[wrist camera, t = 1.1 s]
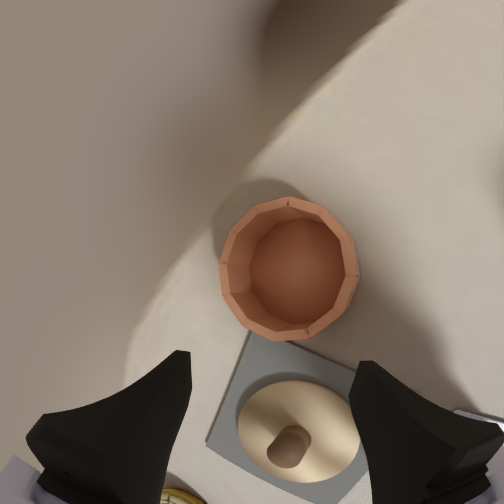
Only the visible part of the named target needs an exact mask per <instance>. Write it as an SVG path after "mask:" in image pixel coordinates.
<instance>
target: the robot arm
mask: <svg viewBox="0 0 504 504" xmlns="http://www.w3.org/2000/svg"><path fill="white" fill-rule="evenodd" d="M191 391H192V376H191V355H190V352H187V351H180V350H176V351H174V352H173V353H172V354H171V355H169V356H168V357H167V358H166V359H165V360H164V361H162V362H161V363H160V364H159V365H158V366H156V367H155V368H154V369H153V370H151V371H150V372H149V373H147V374H146V375H145V376H143V377H142V378H141V379H139V380H138V381H136V382H135V383H133V384H132V385H130V386H129V387H127V388H125V389H123V390H122V391H120V392H118V393H116V394H114V395H112V396H110V397H107V398H105V399H103V400H100V401H98V402H95V403H92V404H90V405H86V406H83V407H80V408H76V409H72V410H67V411H62V412H56V413H49V414H43V415H42V416H41V418H40V419H39V420H38V421H37V423H36V424H35V425H34V426H33V428H32V429H31V430H30V431H29V433H28V434H27V436H26V441H27V444H28V446H29V448H30V449H31V451H32V452H33V454H34V455H35V456H36V458H37V459H38V460H39V462H40V463H41V464H42V466H43V467H44V468H45V469H44V471H43V473H42V474H41V473H40V472H39V471H38V470H36V469H35V468H34V467H32V466H31V465H29V464H28V463H26V462H24V461H23V460H21V459H20V458H18V457H17V456H16V455H13V456H12V458H11V459H10V460H9V462H8V463H7V464H6V466H5V467H4V469H3V470H2V471H1V473H0V504H160V501H161V495H162V490H163V485H164V480H165V475H166V470H167V466H168V462H169V458H170V454H171V451H172V447H173V444H174V442H175V439H176V437H177V434H178V431H179V429H180V426H181V424H182V421H183V418H184V416H185V413H186V410H187V408H188V404H189V400H190V395H191ZM348 397H349V403H350V408H351V413H352V416H353V419H354V422H355V425H356V428H357V431H358V434H359V437H360V439H361V442H362V445H363V448H364V451H365V455H366V458H367V463H368V469H369V474H370V481H371V489H372V501H373V504H504V446H503V443H504V422H501V421H497V420H493V419H490V418H486V417H482V416H479V415H475V414H472V413H469V412H465V411H462V410H455V411H453V412H451V411H448V410H446V409H444V408H442V407H439V406H437V405H436V404H434V403H432V402H430V401H428V400H426V399H425V398H423V397H421V396H420V395H418V394H417V393H415V392H414V391H412V390H411V389H409V388H408V387H407V386H405V385H404V384H403V383H401V382H400V381H399V380H397V379H396V378H395V377H393V376H392V375H391V374H390V373H388V372H387V371H386V370H385V369H383V368H382V367H381V366H379V365H378V364H377V363H375V362H374V361H360V362H359V365H358V368H357V371H356V374H355V377H354V380H353V383H352V386H351V389H350V392H349V395H348Z"/></svg>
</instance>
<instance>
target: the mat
mask: <svg viewBox="0 0 504 504" xmlns="http://www.w3.org/2000/svg"><path fill="white" fill-rule="evenodd" d="M355 374H356V371H354V370H352V369H350V368H347V367H345V366H343V365H340V364H338V363H335V362H333V361H331V360H329V359H326V358H324V357H322V356H319V355H317V354H315V353H313V352H311V351H308V350H306V349H304V348H302V347H300V346H297V345H295V344H293V343H291V342H289V341H275V342H274V341H271V340H269V339H267V338H265V337H263V336H261V335H259V334H257V333H255V332H253V331H252V332H251V335H250V337H249V340H248V343H247V345H246V348H245V350H244V353H243V355H242V358H241V361H240V363H239V366H238V368H237V371H236V373H235V376H234V378H233V381H232V383H231V386H230V388H229V391H228V393H227V396H226V398H225V400H224V403H223V405H222V408H221V410H220V413H219V415H218V417H217V420H216V422H215V425H214V427H213V429H212V432H211V434H210V437H209V439H208V441H207V444H206V446H207V447H208V448H210V449H211V450H213V451H214V452H216V453H217V454H219V455H220V456H222V457H224V458H225V459H227V460H228V461H230V462H232V463H233V464H235V465H237V466H239V467H240V468H242V469H244V470H245V471H247V472H249V473H251V474H253V475H255V476H256V477H258V478H260V479H262V480H264V481H266V482H268V483H270V484H272V485H274V486H276V487H278V488H280V489H282V490H284V491H286V492H289V493H291V494H293V495H295V496H298V497H300V498H302V499H305V500H307V501H310V502H312V503H315V504H337V503H338V502H339V501H340V500H341V499H342V498H343V497H344V496H345V495H346V494H347V493H348V492H349V491H350V490H351V489H352V488H353V487H354V486H355V484H356V483H357V482H358V481H359V480H360V479H361V478H362V477H363V475H364V474H365V473H366V472H367V471H368V470H369V469H368V463H367V458H366V455H365V451H364V448H363V445H362V442H361V439H360V443H359V447H358V451H357V453H356V455H355V457H354V459H353V460H352V462H351V463H350V464H349V465H348V466H347V468H345V469H344V470H343V471H342V472H340V473H339V474H337V475H335V476H333V477H331V478H329V479H326V480H322V481H318V482H310V483H299V482H292V481H287V480H284V479H281V478H278V477H275V476H273V475H271V474H269V473H268V472H266V471H264V470H263V469H261V468H260V467H259V466H258V465H257V464H255V463H254V462H253V461H252V459H251V458H250V457H249V456H248V454H247V453H246V452H245V450H244V448H243V446H242V444H241V441H240V438H239V434H238V419H239V415H240V412H241V409H242V408H243V406H244V404H245V403H246V402H247V400H248V399H249V398H250V397H251V396H252V395H254V394H255V393H256V392H257V391H259V390H260V389H262V388H263V387H265V386H267V385H270V384H272V383H275V382H279V381H285V380H304V381H310V382H314V383H318V384H320V385H323V386H325V387H327V388H329V389H331V390H333V391H335V392H336V393H338V394H339V395H340V396H342V397H343V398H344V399H345V400H346V401H347V402H348V403H349V397H348V395H349V392H350V389H351V386H352V383H353V380H354V377H355ZM349 404H350V403H349Z"/></svg>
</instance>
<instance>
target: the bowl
mask: <svg viewBox="0 0 504 504" xmlns="http://www.w3.org/2000/svg"><path fill="white" fill-rule="evenodd" d="M219 262H220V263H219V271H220V279H221V287H222V295H223V296H224V297H223V298H224V300H225V301H226V303H227V304H228V306H229V307H230V309H231V310H232V312H233V313H234V315H235V316H236V318H237V319H238V321H239V322H240V323H241V325H243V327H245V328H247V329H249V330H251V331H253V332H255V333H257V334H259V335H261V336H263V337H265V338H267V339H269V340H271V341H274V342H275V341H288V340H300V339H310V338H312V337H313V336H314V335H316V334H317V333H318V332H320V331H321V330H322V329H324V328H325V327H326V326H328V325H329V324H330V323H332V322H333V321H334V320H335V319H337V318H338V317H339V316H341V315H342V314H343V313H344V312H345V311H346V310H347V309H348V307H349V305H350V302H351V300H352V298H353V296H354V293H355V291H356V287H357V284H358V282H359V279H360V277H359V276H360V271H359V263H358V257H357V253H356V247H355V243H354V241H353V240H352V238H351V237H350V235H349V234H348V233H347V232H346V231H345V229H344V228H343V227H342V226H341V225H340V224H339V223H338V221H337V220H336V219H335V218H334V217H333V216H332V215H331V214H330V212H329V211H328V210H327V209H326V208H325V207H324V206H322V205H318V204H315V203H312V202H308V201H305V200H301V199H298V198H294V197H291V196H287V197H283V198H279V199H275V200H272V201H268V202H264V203H261V204H257V205H254V206H253V207H252V208H251V209H250V210H249V211H248V212H247V213H246V214H245V215H244V216H243V217H242V218H241V219H240V220H239V221H238V222H237V223H236V224H235V225H234V226H233V227H232V228H231V230H230V231H229V233H228V236H227V239H226V242H225V245H224V248H223V251H222V254H221V257H220V260H219Z"/></svg>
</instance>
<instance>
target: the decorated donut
mask: <svg viewBox="0 0 504 504" xmlns="http://www.w3.org/2000/svg"><path fill="white" fill-rule="evenodd" d="M160 504H204V503H203V502H202V501H201V500H199V499H198V498H196V497H195V496H193V495H191V494H189V493H187V492H185V491H181V490H178V489H163V490H162V495H161V501H160Z"/></svg>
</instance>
